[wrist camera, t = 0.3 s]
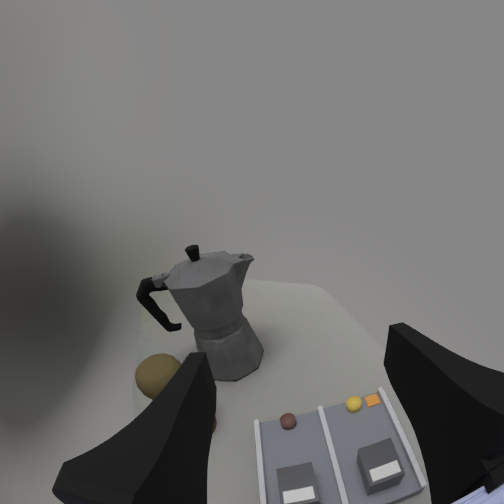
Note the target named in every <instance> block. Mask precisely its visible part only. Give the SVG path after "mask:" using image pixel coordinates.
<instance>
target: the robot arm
mask: <svg viewBox="0 0 504 504" xmlns="http://www.w3.org/2000/svg"><path fill="white" fill-rule="evenodd" d="M384 366H385V369H386V372H387V375H388V378H389V380H390V383H391V385H392V387H393V389H394V391H395V393H396V395H397V397H398V399H399V401H400V403H401V405H402V406H403V408H404V410H405V412H406V414H407V416H408V418H409V420H410V422H411V424H412V427H413V429H414V431H415V434H416V437H417V440H418V443H419V446H420V449H421V453H422V456H423V460H424V464H425V468H426V472H427V477H428V482H429V487H430V494H431V502H432V504H504V373H503V372H500V371H496V370H493V369H490V368H487V367H484V366H481V365H479V364H477V363H474V362H472V361H469V360H467V359H465V358H463V357H461V356H459V355H457V354H455V353H453V352H451V351H450V350H448V349H446V348H444V347H443V346H441V345H439V344H438V343H436V342H434V341H433V340H431V339H429V338H428V337H426V336H424V335H423V334H421V333H420V332H418V331H417V330H415V329H413V328H411V327H410V326H408V325H406V324H404V323H398V324H394V325H390V326H389V333H388V340H387V346H386V352H385V358H384ZM215 413H216V385H215V382H214V379H213V375H212V372H211V369H210V365H209V362H208V358H207V355H206V352H197V353H190V354H189V355H188V356H187V358H186V359H185V361H184V362H183V363H182V365H181V366H180V367H179V369H178V370H177V372H176V373H175V374H174V376H173V377H172V378H171V379H170V381H169V382H168V383H167V385H166V386H165V387H164V388H163V390H162V391H161V392H160V393H159V394H158V395H157V397H156V398H155V399H154V400H153V401H152V402H151V403H150V404H149V406H148V407H147V408H146V409H145V410H144V411H143V412H142V413H141V414H140V415H139V416H137V417H136V418H135V419H134V420H133V421H132V422H131V423H130V424H129V425H127V426H126V427H124V428H123V429H122V430H120V431H119V432H118V433H117V434H115V435H114V436H113V437H111V438H110V439H108V440H107V441H105V442H104V443H102V444H100V445H99V446H97V447H95V448H94V449H92V450H90V451H88V452H86V453H84V454H82V455H80V456H77V457H75V458H73V459H71V460H69V461H66V462H64V463H63V465H62V467H61V469H60V472H59V474H58V476H57V479H56V481H55V484H54V486H53V489H52V492H53V494H54V495H55V496H56V497H57V498H58V499H59V500H60V501H62V502H63V503H64V504H207V467H208V456H209V450H210V444H211V438H212V432H213V426H214V419H215Z"/></svg>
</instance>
